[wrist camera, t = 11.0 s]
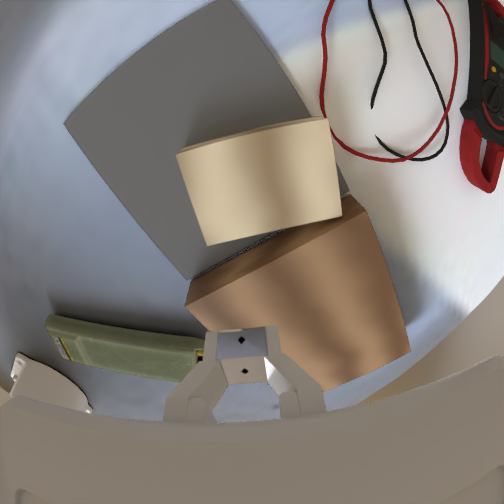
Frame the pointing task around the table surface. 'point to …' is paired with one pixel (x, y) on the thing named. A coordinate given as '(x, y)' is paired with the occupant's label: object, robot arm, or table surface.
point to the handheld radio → (125, 348)
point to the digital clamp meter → (478, 98)
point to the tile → (262, 179)
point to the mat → (182, 122)
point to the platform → (312, 297)
